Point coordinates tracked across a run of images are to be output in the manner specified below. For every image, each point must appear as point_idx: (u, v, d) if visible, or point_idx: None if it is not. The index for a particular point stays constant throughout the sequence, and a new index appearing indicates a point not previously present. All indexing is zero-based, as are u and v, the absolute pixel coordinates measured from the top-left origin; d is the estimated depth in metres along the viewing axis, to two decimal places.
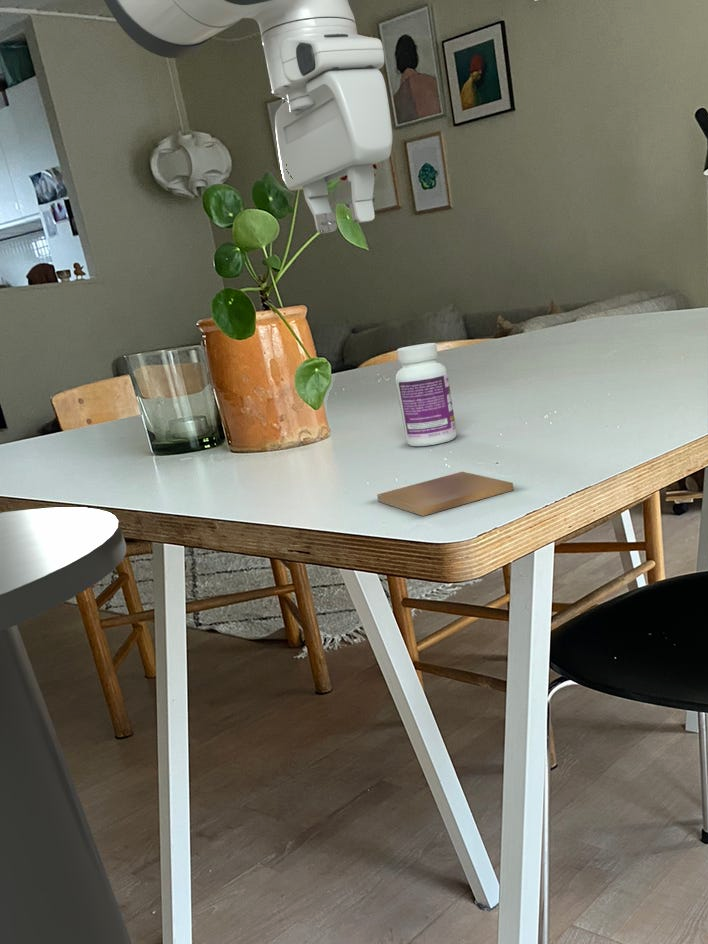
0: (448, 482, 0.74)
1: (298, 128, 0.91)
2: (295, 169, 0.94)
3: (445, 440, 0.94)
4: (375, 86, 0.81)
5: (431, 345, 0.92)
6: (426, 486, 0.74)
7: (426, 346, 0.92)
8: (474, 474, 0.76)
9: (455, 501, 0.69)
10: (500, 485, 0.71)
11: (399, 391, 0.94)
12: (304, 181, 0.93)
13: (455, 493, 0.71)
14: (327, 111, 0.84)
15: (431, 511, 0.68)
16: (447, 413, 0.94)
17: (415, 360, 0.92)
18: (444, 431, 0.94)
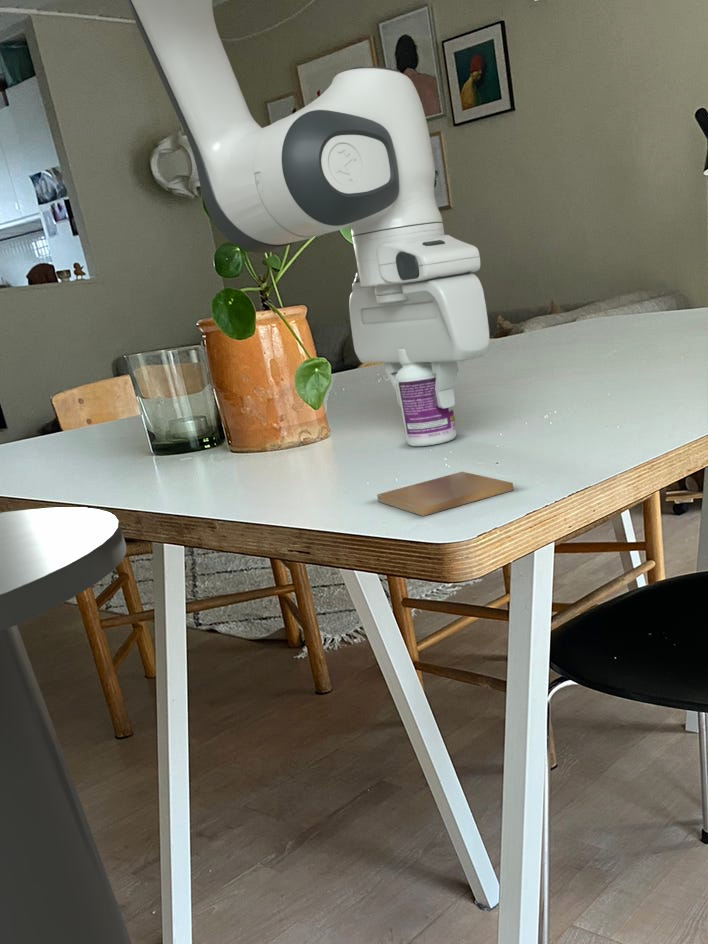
0: (448, 482, 0.74)
1: (379, 313, 0.94)
2: (372, 348, 0.96)
3: (445, 440, 0.95)
4: (475, 292, 0.85)
5: None
6: (426, 486, 0.74)
7: None
8: (474, 474, 0.76)
9: (455, 501, 0.69)
10: (500, 485, 0.71)
11: (399, 391, 0.94)
12: (383, 361, 0.96)
13: (455, 493, 0.71)
14: (421, 309, 0.88)
15: (431, 511, 0.68)
16: (447, 413, 0.94)
17: None
18: (444, 431, 0.94)
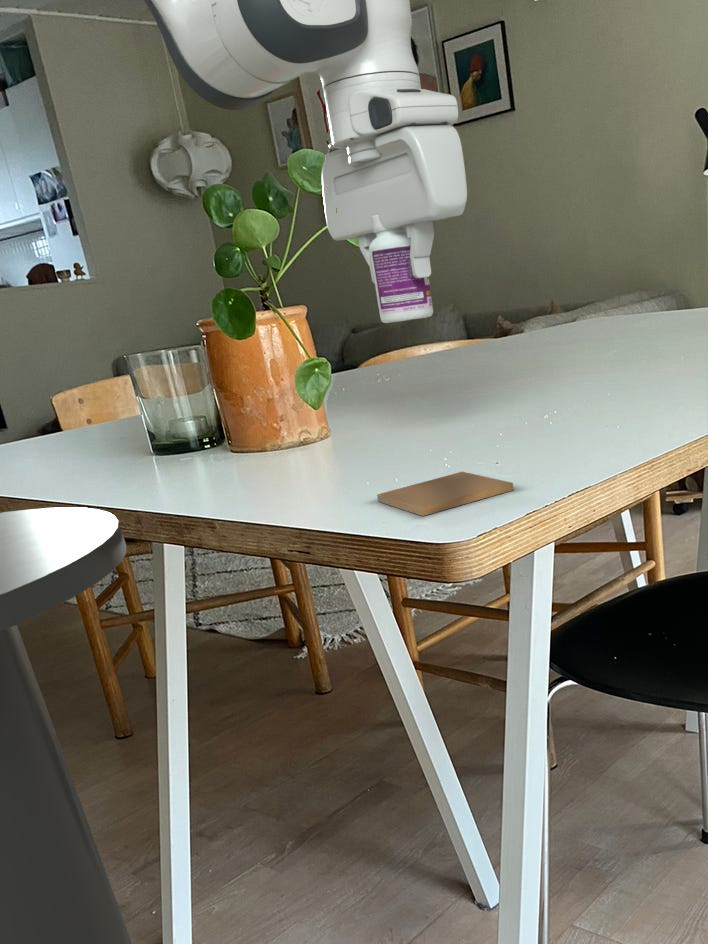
0: (448, 482, 0.74)
1: (353, 179, 0.88)
2: (345, 220, 0.91)
3: (421, 316, 0.89)
4: (452, 143, 0.80)
5: None
6: (426, 486, 0.74)
7: None
8: (474, 474, 0.76)
9: (455, 501, 0.69)
10: (500, 485, 0.71)
11: (372, 262, 0.88)
12: (357, 233, 0.91)
13: (455, 493, 0.71)
14: (395, 165, 0.82)
15: (431, 511, 0.68)
16: (423, 286, 0.89)
17: None
18: (420, 306, 0.89)
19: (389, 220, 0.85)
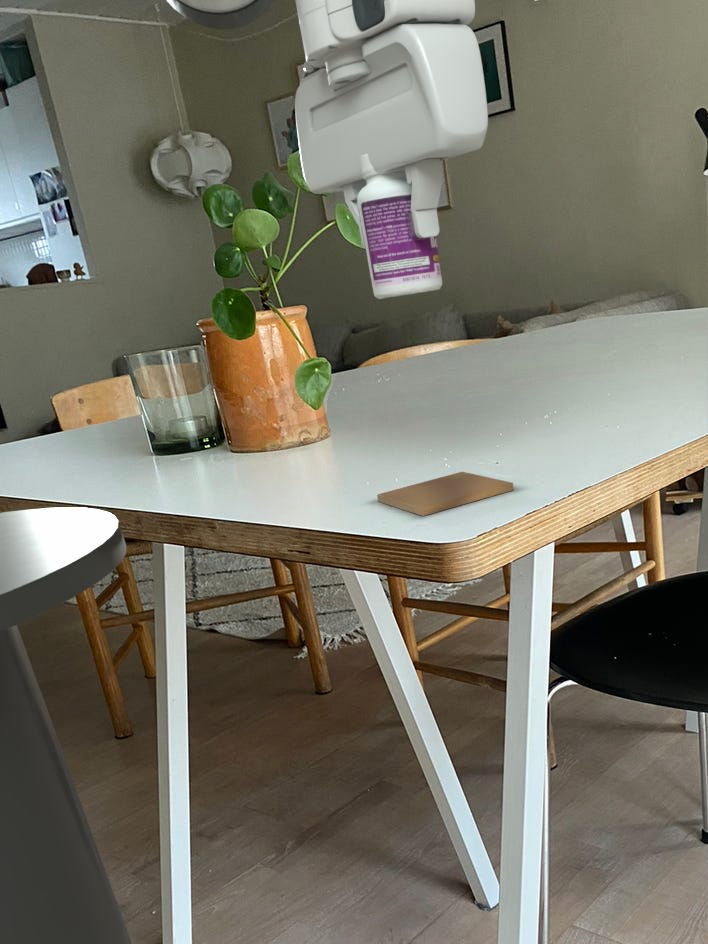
0: (448, 482, 0.74)
1: (334, 108, 0.67)
2: (326, 164, 0.70)
3: (426, 288, 0.68)
4: (467, 47, 0.58)
5: None
6: (426, 486, 0.74)
7: None
8: (474, 474, 0.76)
9: (455, 501, 0.69)
10: (500, 485, 0.71)
11: (362, 217, 0.67)
12: (341, 181, 0.69)
13: (455, 493, 0.71)
14: (390, 83, 0.61)
15: (431, 511, 0.68)
16: (429, 249, 0.67)
17: None
18: (425, 275, 0.68)
19: (383, 160, 0.64)
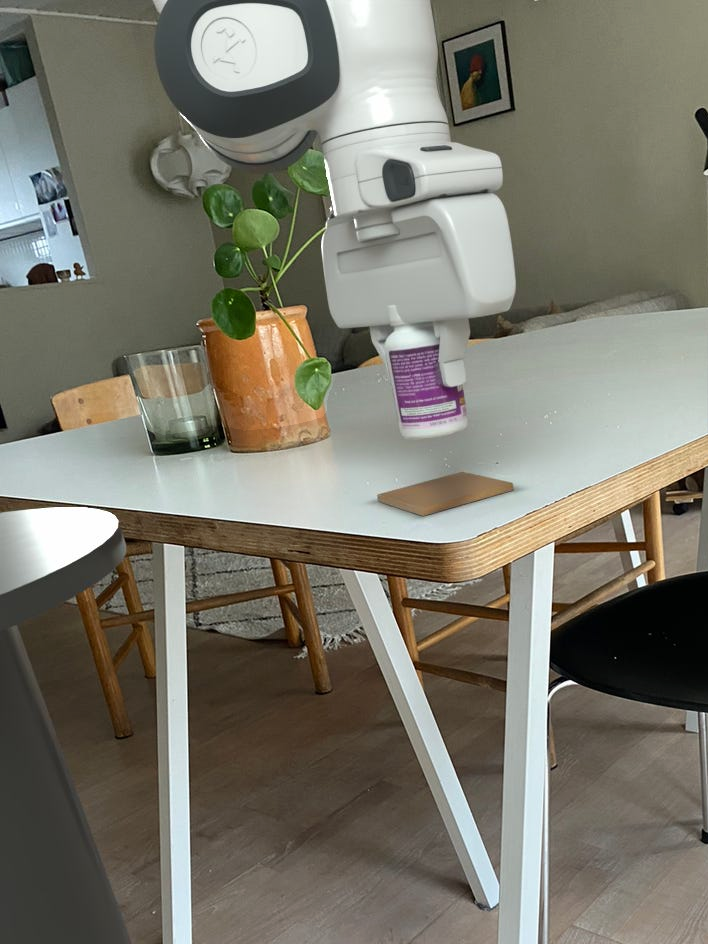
0: (448, 482, 0.74)
1: (362, 257, 0.68)
2: (353, 306, 0.71)
3: (453, 431, 0.69)
4: (495, 218, 0.59)
5: None
6: (426, 486, 0.74)
7: None
8: (474, 474, 0.76)
9: (455, 501, 0.69)
10: (500, 485, 0.71)
11: (390, 364, 0.68)
12: (368, 323, 0.70)
13: (455, 493, 0.71)
14: (419, 246, 0.62)
15: (431, 511, 0.68)
16: (455, 394, 0.69)
17: None
18: (452, 419, 0.69)
19: (411, 314, 0.65)
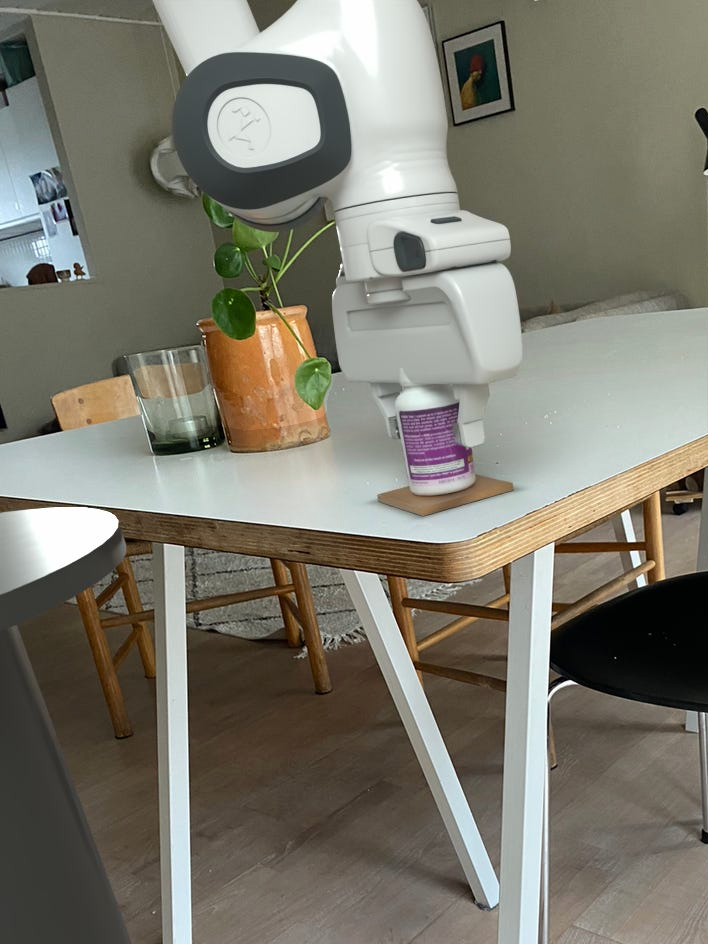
0: None
1: (372, 317, 0.70)
2: (363, 363, 0.73)
3: (461, 488, 0.71)
4: (503, 289, 0.61)
5: None
6: None
7: None
8: None
9: (455, 501, 0.69)
10: (500, 485, 0.71)
11: (400, 423, 0.70)
12: (377, 380, 0.72)
13: (455, 493, 0.71)
14: (428, 312, 0.64)
15: (431, 511, 0.68)
16: (464, 452, 0.70)
17: None
18: (460, 477, 0.70)
19: (420, 376, 0.67)
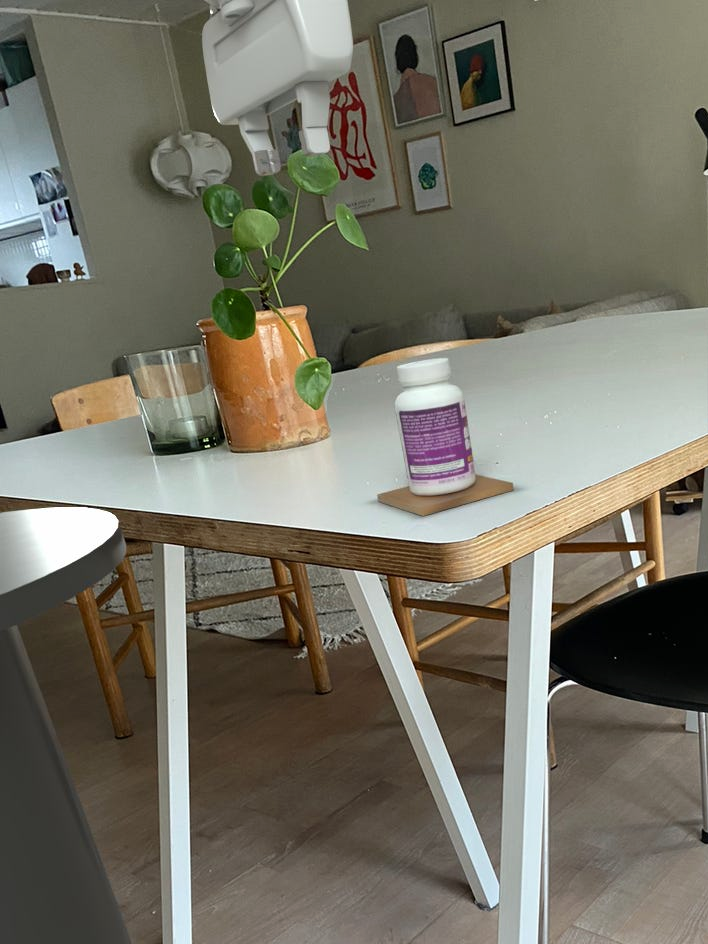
0: None
1: (232, 43, 0.75)
2: (228, 95, 0.78)
3: (461, 488, 0.71)
4: None
5: (443, 361, 0.68)
6: None
7: (436, 363, 0.68)
8: None
9: (455, 501, 0.69)
10: (500, 485, 0.71)
11: (399, 423, 0.70)
12: (240, 109, 0.77)
13: (455, 493, 0.71)
14: (270, 14, 0.69)
15: (431, 511, 0.68)
16: (463, 452, 0.70)
17: (421, 382, 0.68)
18: (460, 476, 0.70)
19: (269, 86, 0.72)
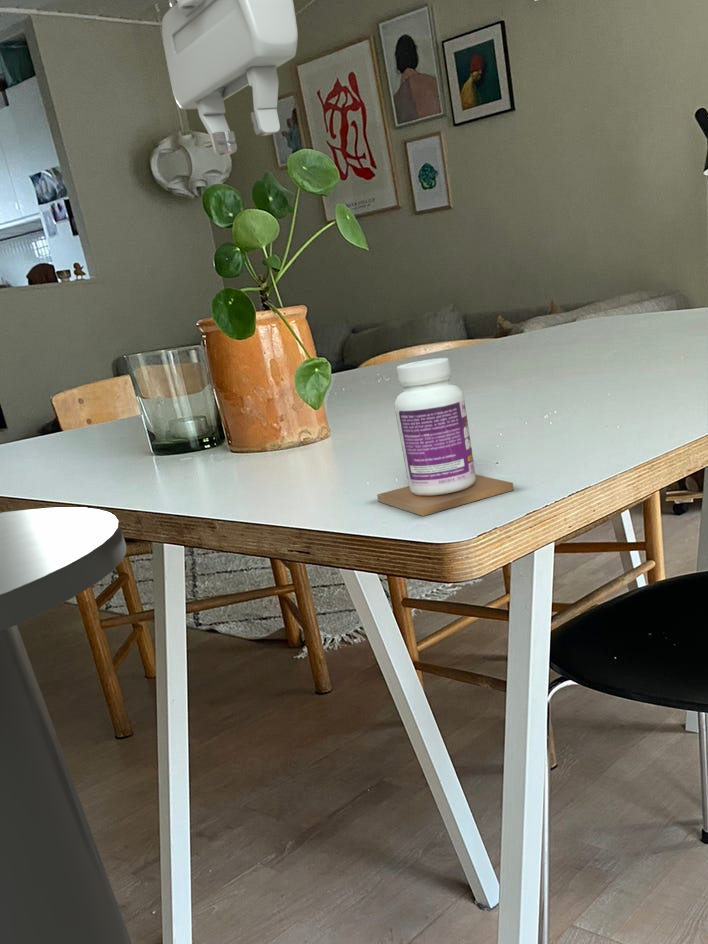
0: None
1: (188, 32, 0.81)
2: (187, 81, 0.84)
3: (461, 488, 0.71)
4: None
5: (443, 361, 0.68)
6: None
7: (436, 363, 0.68)
8: None
9: (455, 501, 0.69)
10: (500, 485, 0.71)
11: (399, 423, 0.70)
12: (198, 94, 0.84)
13: (455, 493, 0.71)
14: (222, 5, 0.75)
15: (431, 511, 0.68)
16: (463, 452, 0.70)
17: (421, 382, 0.68)
18: (460, 476, 0.70)
19: (222, 71, 0.78)
